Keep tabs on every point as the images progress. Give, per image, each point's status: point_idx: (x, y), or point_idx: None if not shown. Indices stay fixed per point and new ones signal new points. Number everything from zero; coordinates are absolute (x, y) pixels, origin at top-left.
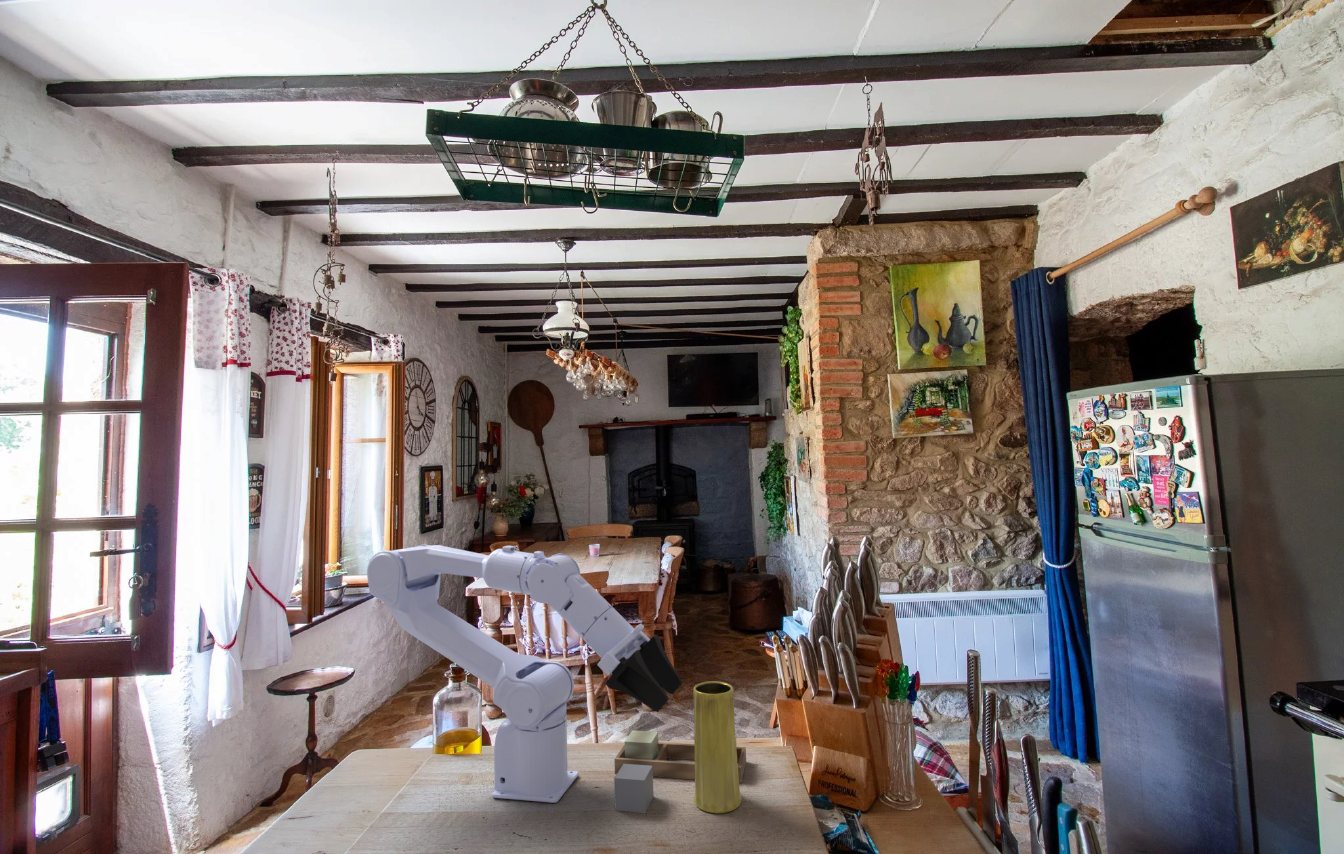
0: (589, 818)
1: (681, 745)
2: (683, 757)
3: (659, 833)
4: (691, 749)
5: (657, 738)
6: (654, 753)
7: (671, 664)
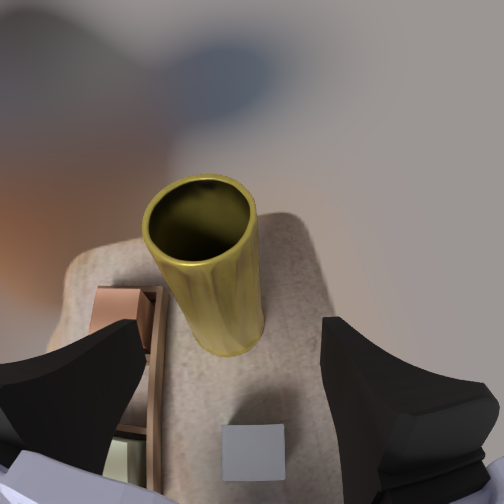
0: (313, 496)
1: None
2: None
3: None
4: None
5: None
6: (118, 438)
7: (76, 341)
